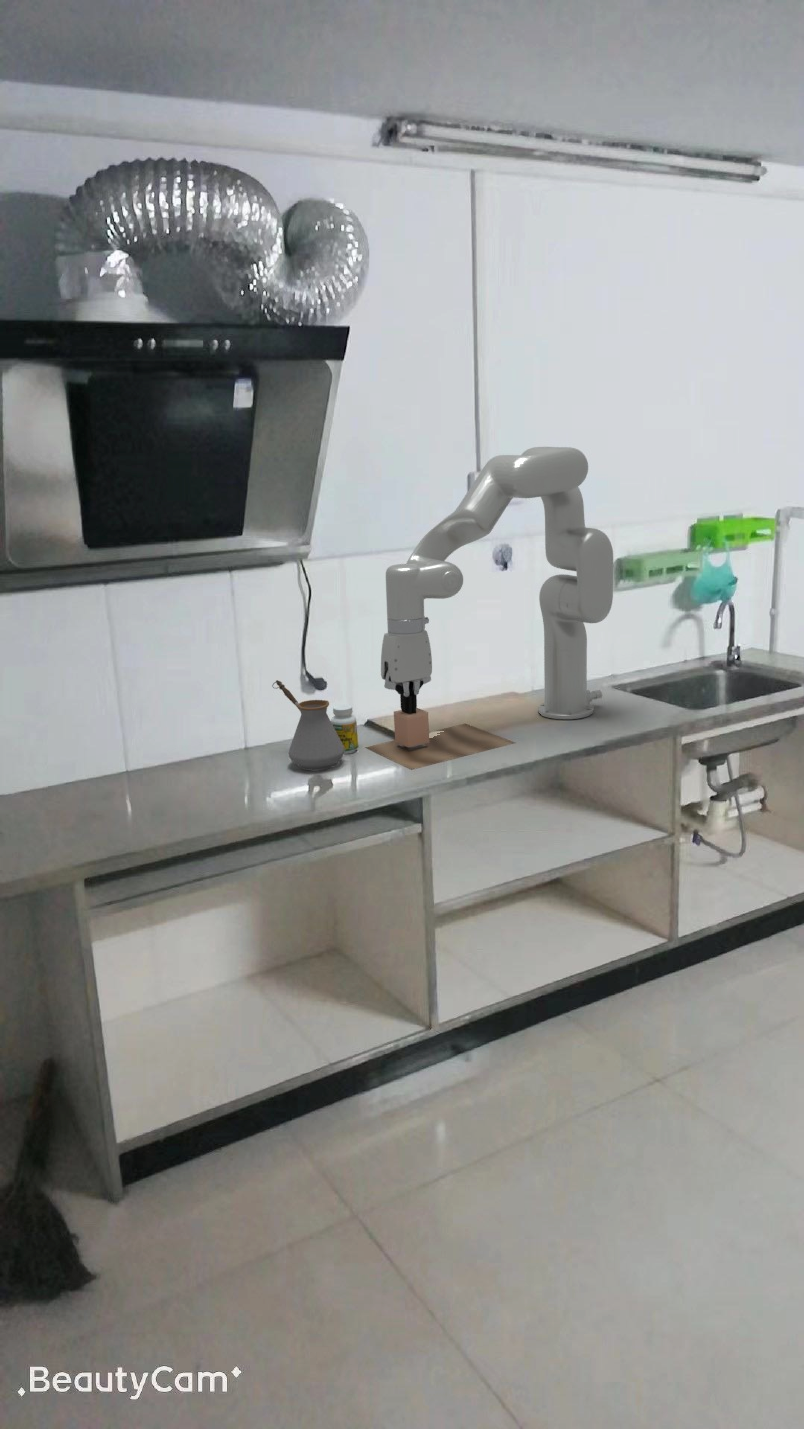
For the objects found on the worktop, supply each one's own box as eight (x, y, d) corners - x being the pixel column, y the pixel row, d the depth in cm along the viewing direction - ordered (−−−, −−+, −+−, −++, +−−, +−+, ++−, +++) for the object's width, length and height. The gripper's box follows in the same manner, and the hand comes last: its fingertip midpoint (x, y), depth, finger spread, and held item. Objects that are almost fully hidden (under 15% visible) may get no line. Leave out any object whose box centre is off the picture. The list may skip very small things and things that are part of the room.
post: (415, 741, 223) (413, 710, 221) (426, 746, 220) (425, 714, 218) (397, 746, 221) (396, 714, 219) (409, 751, 217) (407, 718, 215)
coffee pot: (356, 765, 213) (351, 693, 209) (306, 778, 207) (301, 705, 203) (304, 740, 230) (299, 674, 226) (257, 752, 224) (251, 684, 220)
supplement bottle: (360, 746, 225) (357, 703, 222) (356, 754, 220) (353, 710, 217) (335, 746, 225) (332, 703, 223) (331, 755, 220) (328, 711, 217)
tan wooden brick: (416, 736, 224) (414, 706, 222) (429, 742, 219) (428, 712, 217) (395, 741, 221) (393, 711, 219) (408, 747, 217) (406, 716, 215)
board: (465, 726, 235) (465, 723, 234) (515, 746, 220) (515, 742, 220) (365, 751, 221) (364, 747, 221) (411, 773, 207) (411, 769, 207)
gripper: (426, 618, 220) (428, 703, 225) (364, 628, 212) (368, 715, 217) (446, 623, 214) (448, 710, 219) (384, 633, 206) (387, 723, 211)
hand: (408, 712), depth 218 cm, fingers closed
